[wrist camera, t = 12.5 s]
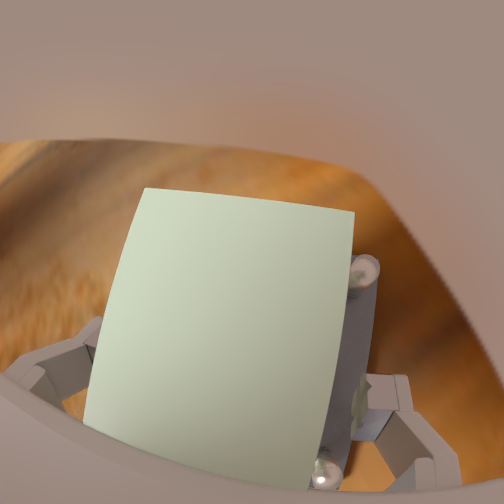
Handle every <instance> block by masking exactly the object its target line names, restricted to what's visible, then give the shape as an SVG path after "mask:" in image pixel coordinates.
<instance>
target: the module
mask: <svg viewBox="0 0 504 504" xmlns="http://www.w3.org/2000/svg"><path fill="white" fill-rule="evenodd" d="M354 216H355V212H351V211H344V210H338V209H331V208H324V207H317V206H310V205H303V204H296V203H288V202H281V201H273V200H265V199H256V198H248V197H239V196H230V195H220V194H211V193H200V192H190V191H179V190H167V189H154V188H145V189H144V192H143V194H142V197H141V200H140V202H139V205H138V208H137V210H136V213H135V216H134V219H133V222H132V225H131V227H130V230H129V233H128V236H127V239H126V242H125V245H124V248H123V252H122V255H121V258H120V261H119V264H118V268H117V271H116V274H115V278H114V281H113V285H112V288H111V292H110V295H109V299H108V303H107V306H106V310H105V314H104V318H103V322H102V326H101V330H100V334H99V339H98V343H97V348H96V352H95V357H94V362H93V367H92V372H91V377H90V382H89V388H88V393H87V399H86V405H85V412H84V419H83V424H84V425H86V426H88V427H90V428H92V429H94V430H96V431H98V432H100V433H102V434H104V435H107V436H109V437H111V438H113V439H115V440H118V441H120V442H122V443H125V444H127V445H130V446H132V447H135V448H137V449H140V450H142V451H145V452H147V453H150V454H153V455H155V456H158V457H161V458H164V459H167V460H170V461H173V462H176V463H179V464H182V465H185V466H188V467H192V468H195V469H198V470H202V471H205V472H209V473H213V474H217V475H221V476H225V477H229V478H233V479H237V480H242V481H247V482H251V483H257V484H262V485H267V486H273V487H280V488H286V489H294V490H301V491H307V490H308V487H309V483H310V480H311V476H312V473H313V469H314V465H315V461H316V458H317V454H318V450H319V446H320V442H321V437H322V433H323V429H324V425H325V420H326V416H327V411H328V406H329V402H330V397H331V392H332V387H333V381H334V376H335V371H336V365H337V359H338V353H339V347H340V341H341V335H342V328H343V321H344V314H345V307H346V299H347V291H348V282H349V273H350V264H351V254H352V242H353V230H354Z"/></svg>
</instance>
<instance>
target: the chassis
mask: <svg viewBox="0 0 504 504" xmlns="http://www.w3.org/2000/svg"><path fill="white" fill-rule="evenodd" d="M379 273H380V265H379V259H377V258H375V257H373V256H371V255H368V254H362V255H359V256H357V255H351V264H350V273H349V282H348V291H347V299H346V307H345V314H344V321H343V328H342V335H341V341H340V347H339V353H338V359H337V365H336V371H335V376H334V381H333V387H332V392H331V397H330V402H329V406H328V411H327V416H326V420H325V425H324V429H323V433H322V437H321V442H320V446H319V450H318V454H317V458H316V461H315V465H314V469H313V473H312V476H311V480H310V483H309V487H313V488H316V489H321V490H339V486H340V485H341V483H342V481H343V473H344V469H345V466H346V462H347V458H348V455H349V451H350V447H351V443H352V440H351V424H352V422H353V420H354V417H353V415H352V414H351V407H352V400H353V396H354V393H355V391H356V388H358V387H359V386H360V379H361V376H362V374H363V373H364V372H366V371H367V365H368V359H369V352H370V345H371V338H372V331H373V323H374V315H375V305H376V296H377V285H378V276H379Z"/></svg>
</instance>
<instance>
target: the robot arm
mask: <svg viewBox="0 0 504 504" xmlns="http://www.w3.org/2000/svg"><path fill="white" fill-rule="evenodd" d="M103 318H104V317H101V316H96V317H94V318H93V319H92V320H91V321H90V322H89V323H88V324H87V325H86V326H85V327H84V328H83V329H82V330H81V331H80V332H79V333H78V334H77V335H76V336H75V337H74V338H73V339H70V338H69V339H66V340H63V341H61V342H58V343H55V344H52V345H49V346H46V347H43V348H40V349H37V350H34V351H31V352H29V353H26V354H23V355H21V356H20V357H19V358H18V359H17V360H16V361H15V362H14V363H13V364H12V365H11V366H10V367H9V368H8V369H7V370H6V371H5V372H4V373H2V372H0V504H504V477H503V478H498V479H494V480H489V481H484V482H479V483H474V484H468V485H462V479H461V472H460V466H459V460H458V455H457V454H456V452H455V451H454V450H453V449H452V448H451V447H450V446H449V445H448V444H447V443H446V442H445V440H444V439H443V438H442V437H441V436H440V435H439V434H438V433H437V432H436V431H435V430H434V428H433V427H432V426H431V425H430V424H429V423H428V422H427V421H426V420H425V419H424V418H423V416H422V415H421V414H420V413H419V412H414V407H413V401H412V396H411V391H410V386H409V380H408V377H407V375H400V374H385V373H373V372H364V373H363V374H362V376H361V379H360V386H359V387H358V388H356V391H355V393H354V396H353V400H352V407H351V414H352V415H353V417H354V420H353V422H352V424H351V440H356V441H367V442H375V443H374V444H375V445H376V447H377V448H378V450H379V452H380V453H381V455H382V457H383V458H384V460H385V462H386V463H387V465H388V466H389V468H390V470H391V471H392V473H393V475H394V476H395V478H396V481H395V482H394V483H393V484H392V485H391V486H390V487H388V488H387V489H386V490H385V491H384V492H352V491H334V490H321V489H311V488H308V490H307V491H301V490H294V489H286V488H280V487H273V486H267V485H262V484H257V483H251V482H247V481H242V480H237V479H233V478H229V477H225V476H221V475H217V474H213V473H209V472H205V471H202V470H198V469H195V468H192V467H188V466H185V465H182V464H179V463H176V462H173V461H170V460H167V459H164V458H161V457H158V456H155V455H153V454H150V453H147V452H145V451H142V450H140V449H137V448H135V447H132V446H130V445H127V444H125V443H122V442H120V441H118V440H115V439H113V438H111V437H109V436H107V435H104V434H102V433H100V432H98V431H96V430H94V429H92V428H90V427H88V426H86V425H84V424H83V421H81V420H79V419H77V418H75V417H73V416H71V415H69V414H68V413H67V412H66V409H65V407H64V405H63V404H62V402H61V401H63V400H65V399H67V398H69V397H71V396H72V395H74V394H76V393H78V392H80V391H82V390H83V389H85V388H87V387H89V382H90V377H91V372H92V367H93V362H94V357H95V352H96V348H97V343H98V339H99V334H100V330H101V326H102V322H103Z"/></svg>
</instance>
